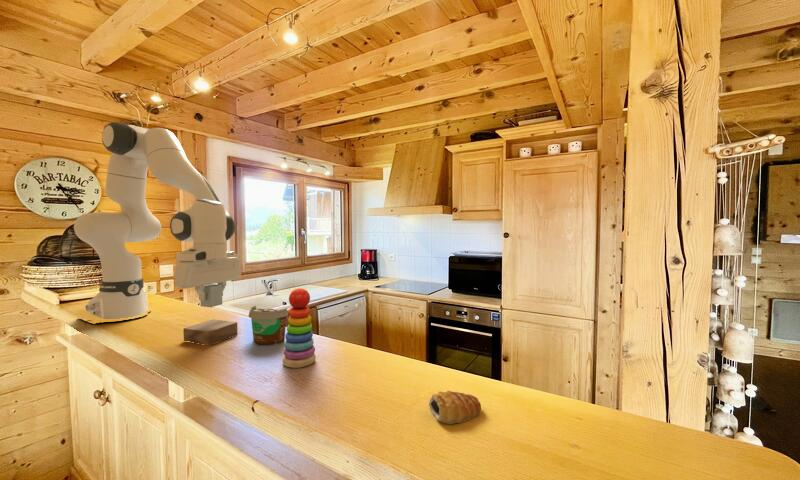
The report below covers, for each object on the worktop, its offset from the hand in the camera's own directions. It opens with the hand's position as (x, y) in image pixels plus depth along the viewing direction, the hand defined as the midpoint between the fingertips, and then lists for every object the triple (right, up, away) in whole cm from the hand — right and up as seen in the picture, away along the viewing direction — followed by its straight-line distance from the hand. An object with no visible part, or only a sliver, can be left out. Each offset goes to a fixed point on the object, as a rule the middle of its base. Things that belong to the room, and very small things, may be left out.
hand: (211, 298), depth 97 cm
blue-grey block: (0, -2, 0) cm, 2 cm away
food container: (+17, -13, -3) cm, 22 cm away
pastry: (+67, -14, -38) cm, 79 cm away
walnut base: (0, -12, 0) cm, 12 cm away
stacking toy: (+32, -13, -17) cm, 38 cm away
